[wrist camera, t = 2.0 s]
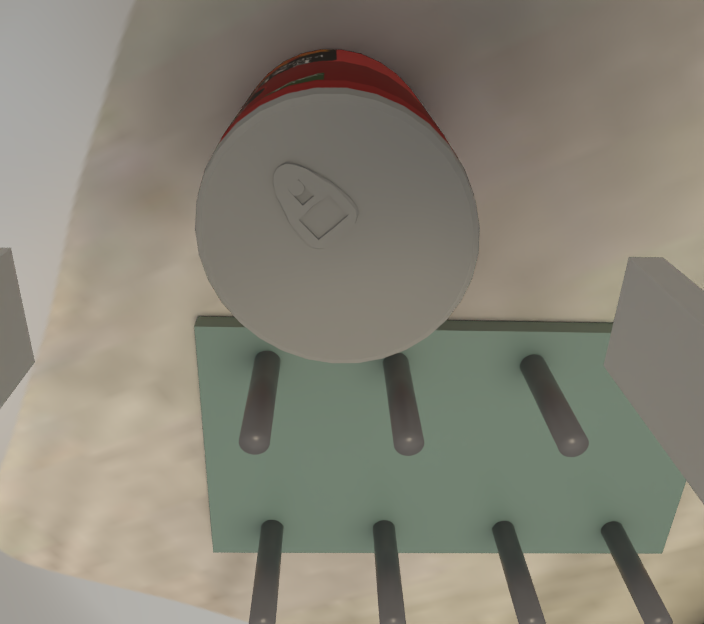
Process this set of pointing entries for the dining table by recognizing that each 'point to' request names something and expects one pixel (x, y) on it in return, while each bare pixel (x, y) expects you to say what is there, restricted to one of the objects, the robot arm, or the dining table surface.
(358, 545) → the rack
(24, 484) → the dining table surface
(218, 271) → the canned food
